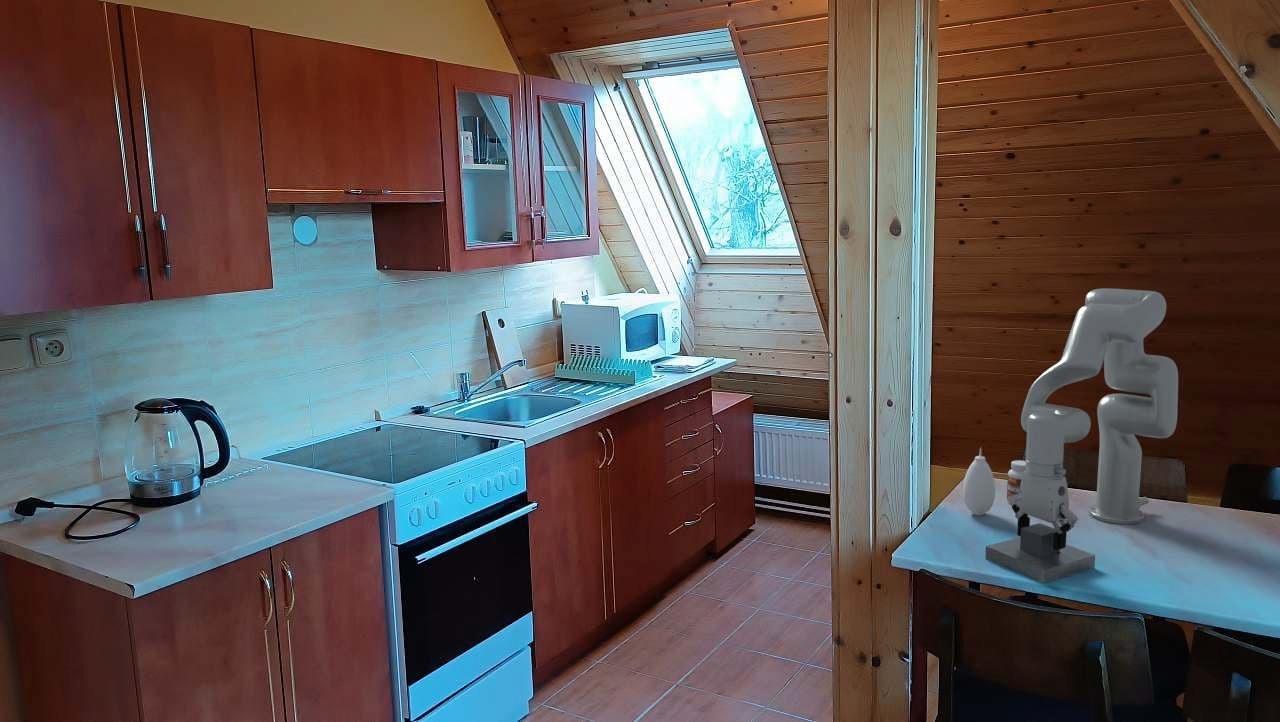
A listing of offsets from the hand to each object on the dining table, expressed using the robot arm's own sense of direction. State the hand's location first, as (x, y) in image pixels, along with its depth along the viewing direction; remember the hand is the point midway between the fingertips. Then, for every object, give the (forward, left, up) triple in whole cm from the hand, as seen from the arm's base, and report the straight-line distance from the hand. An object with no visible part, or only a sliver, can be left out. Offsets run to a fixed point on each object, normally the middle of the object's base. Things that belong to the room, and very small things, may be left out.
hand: (1040, 541), depth 208 cm
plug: (0, 0, -5) cm, 5 cm away
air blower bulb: (-13, -30, -5) cm, 33 cm away
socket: (0, 0, -5) cm, 5 cm away
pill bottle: (-29, -31, -5) cm, 42 cm away
